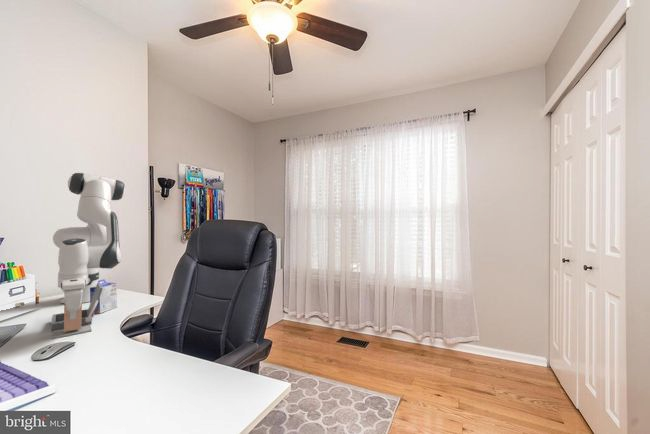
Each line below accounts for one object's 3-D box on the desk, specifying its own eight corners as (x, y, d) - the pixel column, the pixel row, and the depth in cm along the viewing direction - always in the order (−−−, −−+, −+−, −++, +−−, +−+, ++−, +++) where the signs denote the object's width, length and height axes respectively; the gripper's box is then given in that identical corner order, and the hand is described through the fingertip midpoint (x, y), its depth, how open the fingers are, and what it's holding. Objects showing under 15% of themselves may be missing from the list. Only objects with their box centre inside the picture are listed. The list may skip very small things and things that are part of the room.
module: (64, 327, 110) (64, 300, 110) (80, 324, 113) (81, 298, 113) (63, 331, 106) (64, 303, 106) (81, 328, 110) (81, 301, 110)
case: (52, 321, 120) (53, 287, 120) (99, 313, 130) (99, 281, 130) (51, 333, 108) (52, 295, 108) (102, 323, 119) (103, 288, 119)
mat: (53, 332, 109) (53, 331, 109) (90, 325, 116) (90, 324, 116) (52, 339, 103) (52, 337, 103) (91, 331, 111) (91, 330, 111)
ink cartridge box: (107, 306, 140) (107, 277, 140) (117, 307, 140) (118, 278, 140) (88, 313, 131) (89, 282, 131) (99, 314, 130) (100, 282, 130)
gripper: (62, 277, 115) (61, 311, 115) (62, 287, 100) (61, 325, 100) (82, 275, 120) (82, 307, 120) (85, 284, 105) (84, 321, 105)
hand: (72, 316), depth 110 cm, fingers open, 5 cm apart
